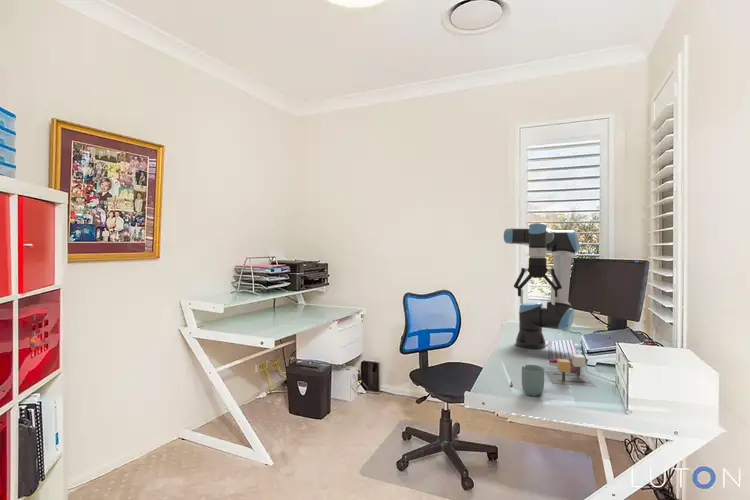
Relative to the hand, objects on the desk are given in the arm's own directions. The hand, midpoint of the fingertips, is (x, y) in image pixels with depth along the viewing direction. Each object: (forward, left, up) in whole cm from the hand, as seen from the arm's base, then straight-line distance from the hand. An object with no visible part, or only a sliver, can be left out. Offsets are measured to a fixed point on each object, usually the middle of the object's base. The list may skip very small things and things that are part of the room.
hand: (537, 304), depth 183 cm
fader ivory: (+13, +14, -28) cm, 33 cm away
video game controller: (+4, +13, -29) cm, 32 cm away
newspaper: (+16, -10, -30) cm, 35 cm away
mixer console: (+17, +9, -29) cm, 35 cm away
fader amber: (+21, +6, -28) cm, 35 cm away
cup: (+34, -8, -29) cm, 45 cm away
